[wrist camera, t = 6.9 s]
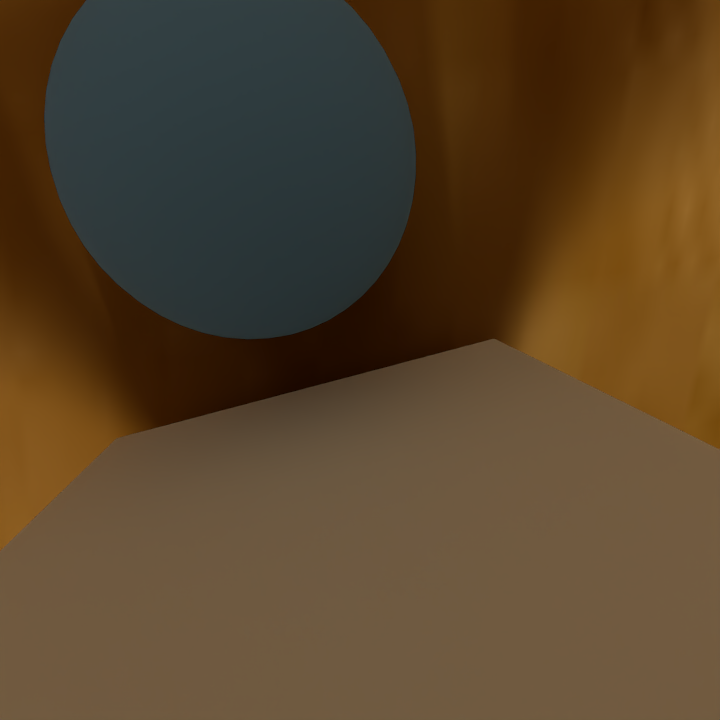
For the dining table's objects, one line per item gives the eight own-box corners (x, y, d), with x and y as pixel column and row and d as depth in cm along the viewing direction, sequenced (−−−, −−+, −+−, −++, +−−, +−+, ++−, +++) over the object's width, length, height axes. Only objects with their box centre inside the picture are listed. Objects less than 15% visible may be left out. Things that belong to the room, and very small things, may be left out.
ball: (417, 110, 9) (543, -54, 4) (346, 340, 10) (378, 428, 5) (166, 12, 8) (-54, -347, 3) (117, 275, 9) (-106, 305, 4)
